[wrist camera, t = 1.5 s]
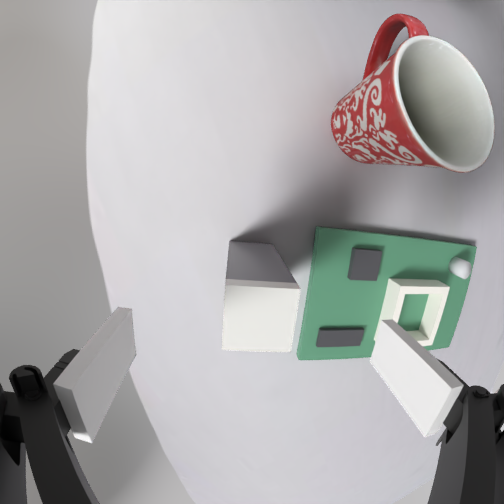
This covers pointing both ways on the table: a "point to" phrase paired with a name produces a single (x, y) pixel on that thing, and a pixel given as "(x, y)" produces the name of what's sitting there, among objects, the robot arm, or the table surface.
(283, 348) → the plug
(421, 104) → the mug
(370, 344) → the board
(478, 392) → the robot arm
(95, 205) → the table surface
